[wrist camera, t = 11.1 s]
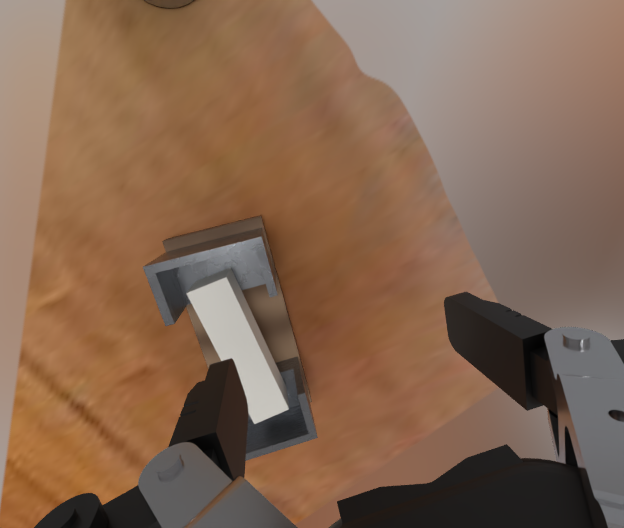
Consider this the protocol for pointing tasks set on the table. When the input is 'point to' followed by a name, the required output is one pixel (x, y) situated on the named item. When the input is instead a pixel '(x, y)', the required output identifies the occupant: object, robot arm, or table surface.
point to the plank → (264, 308)
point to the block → (240, 342)
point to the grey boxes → (249, 273)
